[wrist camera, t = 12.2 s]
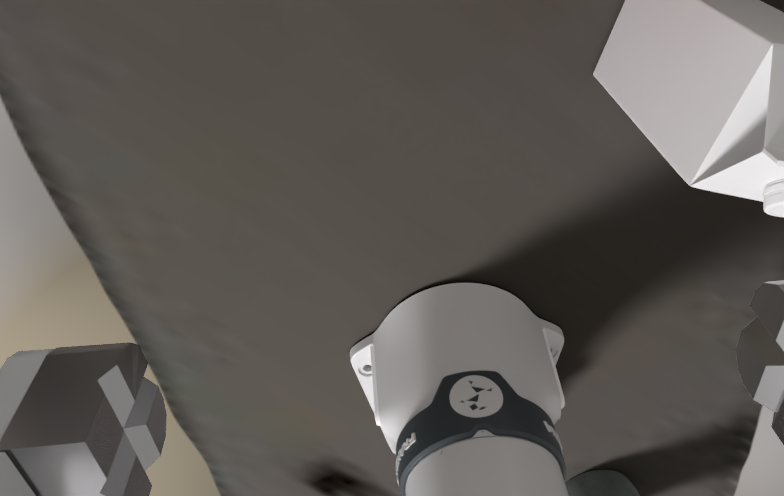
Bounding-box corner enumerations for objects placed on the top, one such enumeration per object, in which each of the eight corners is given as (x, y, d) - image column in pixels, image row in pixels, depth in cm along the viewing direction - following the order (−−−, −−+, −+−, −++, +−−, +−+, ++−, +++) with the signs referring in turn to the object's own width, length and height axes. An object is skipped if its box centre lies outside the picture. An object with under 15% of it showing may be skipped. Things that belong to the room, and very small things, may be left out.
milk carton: (639, -38, 38) (834, 77, 23) (741, -10, 39) (992, 116, 24) (590, 74, 42) (728, 235, 27) (685, 95, 43) (868, 262, 28)
